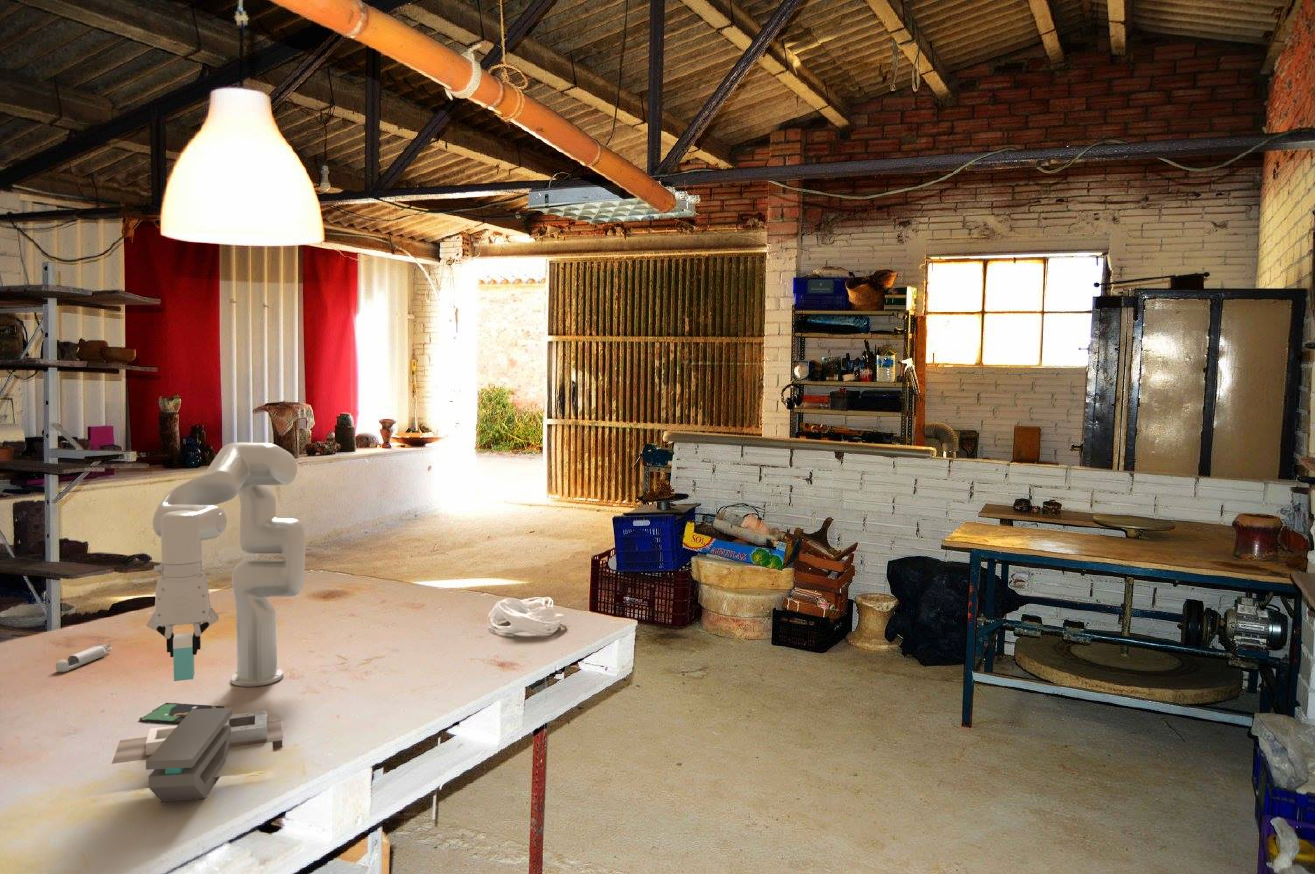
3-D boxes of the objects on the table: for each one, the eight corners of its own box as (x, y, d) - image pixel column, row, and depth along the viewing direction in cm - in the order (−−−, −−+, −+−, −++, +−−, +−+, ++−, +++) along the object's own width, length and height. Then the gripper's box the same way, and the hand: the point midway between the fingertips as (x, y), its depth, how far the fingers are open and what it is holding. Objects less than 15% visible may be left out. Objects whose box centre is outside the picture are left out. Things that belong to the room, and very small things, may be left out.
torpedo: (66, 675, 238) (65, 650, 237) (50, 673, 238) (49, 649, 238) (117, 653, 255) (117, 631, 255) (102, 652, 256) (102, 630, 256)
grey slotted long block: (193, 816, 166) (192, 759, 165) (147, 819, 165) (145, 761, 164) (232, 757, 191) (232, 707, 190) (193, 759, 189) (192, 709, 188)
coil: (551, 643, 275) (552, 613, 274) (475, 635, 279) (476, 605, 278) (572, 622, 299) (573, 594, 299) (502, 614, 303) (503, 587, 302)
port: (217, 729, 201) (217, 716, 201) (266, 723, 205) (266, 710, 205) (216, 747, 192) (215, 733, 192) (267, 740, 196) (267, 726, 196)
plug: (175, 675, 194) (174, 634, 193) (194, 673, 195) (193, 632, 195) (173, 681, 191) (172, 639, 190) (193, 679, 192) (192, 637, 191)
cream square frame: (150, 739, 195) (150, 728, 195) (192, 734, 198) (192, 723, 198) (146, 754, 187) (145, 743, 187) (190, 748, 191) (190, 737, 191)
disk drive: (225, 717, 213) (165, 712, 215) (225, 705, 213) (165, 701, 214) (199, 734, 203) (137, 730, 204) (199, 722, 203) (136, 718, 204)
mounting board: (120, 747, 194) (119, 740, 194) (281, 726, 207) (281, 719, 207) (111, 770, 183) (111, 763, 183) (282, 746, 196) (282, 739, 196)
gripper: (134, 576, 184) (136, 663, 186) (224, 570, 191) (226, 655, 192) (139, 568, 191) (141, 652, 193) (226, 563, 198) (227, 644, 199)
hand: (183, 653), depth 193 cm, fingers closed on plug, 3 cm apart
